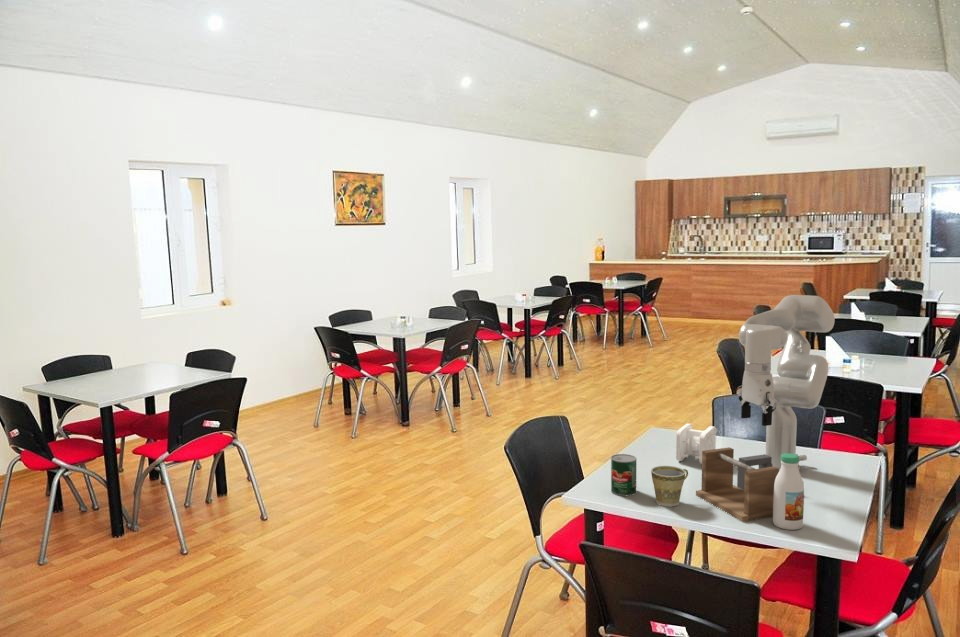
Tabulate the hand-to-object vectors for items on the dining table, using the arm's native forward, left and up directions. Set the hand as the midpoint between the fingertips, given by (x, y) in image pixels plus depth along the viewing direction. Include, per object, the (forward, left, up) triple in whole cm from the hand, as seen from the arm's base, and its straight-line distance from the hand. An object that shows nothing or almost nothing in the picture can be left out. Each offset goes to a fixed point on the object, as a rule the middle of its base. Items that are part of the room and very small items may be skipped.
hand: (756, 421), depth 227 cm
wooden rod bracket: (+14, +10, -22) cm, 28 cm away
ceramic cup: (+31, +1, -22) cm, 38 cm away
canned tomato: (+40, -12, -22) cm, 47 cm away
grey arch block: (0, 0, -22) cm, 22 cm away
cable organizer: (0, -31, -22) cm, 38 cm away
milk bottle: (+11, +27, -22) cm, 36 cm away
